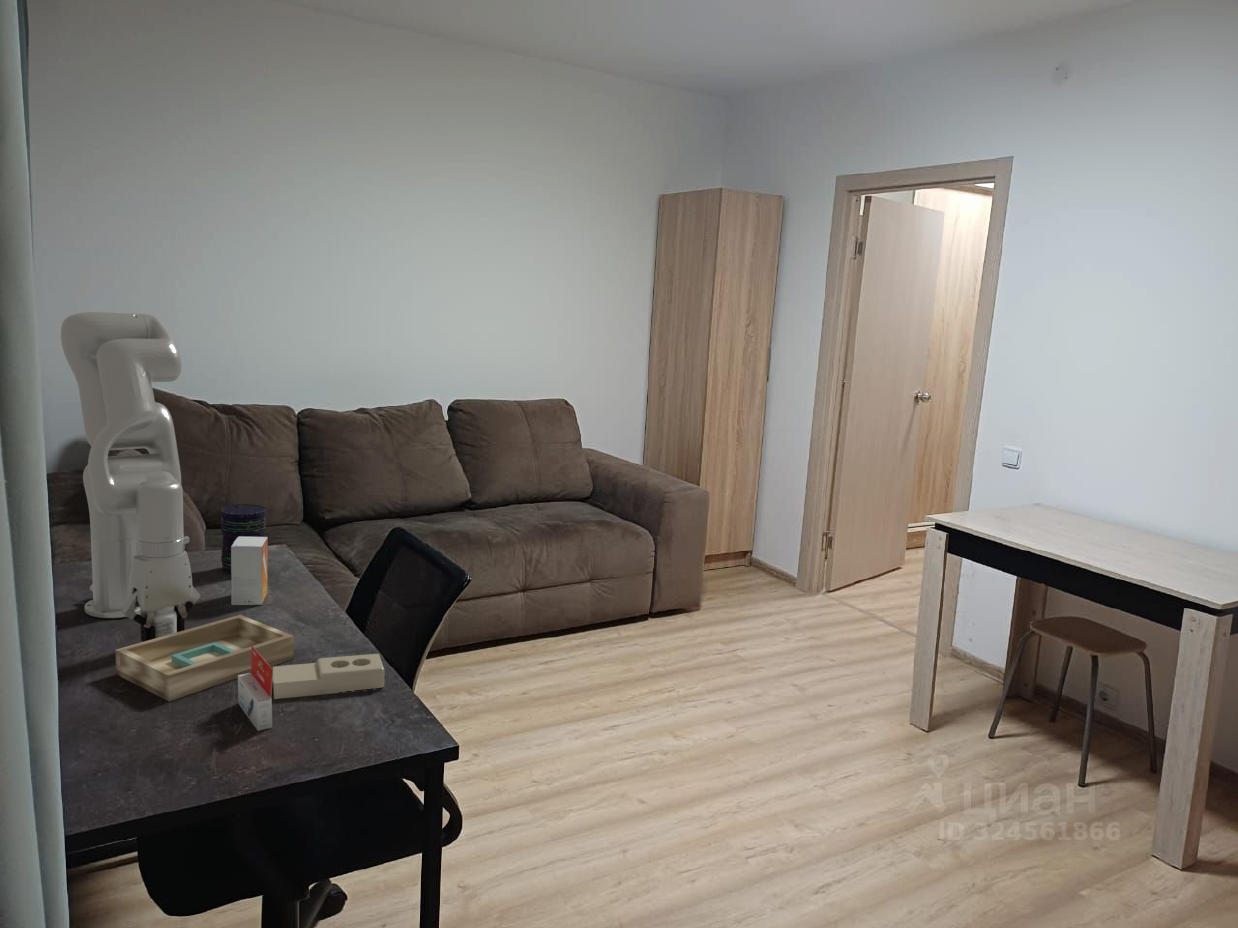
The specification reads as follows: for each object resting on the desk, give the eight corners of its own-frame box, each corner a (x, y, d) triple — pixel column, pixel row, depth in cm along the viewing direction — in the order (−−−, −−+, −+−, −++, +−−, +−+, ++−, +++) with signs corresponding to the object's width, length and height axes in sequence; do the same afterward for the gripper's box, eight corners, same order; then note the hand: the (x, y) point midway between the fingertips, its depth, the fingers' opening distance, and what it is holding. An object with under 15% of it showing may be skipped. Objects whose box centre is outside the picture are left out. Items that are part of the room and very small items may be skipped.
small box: (262, 605, 195) (262, 546, 193) (230, 605, 194) (230, 546, 192) (268, 593, 203) (268, 536, 201) (237, 593, 202) (237, 535, 199)
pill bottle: (155, 640, 173) (154, 597, 172) (181, 641, 174) (180, 598, 172) (144, 650, 169) (143, 606, 167) (171, 651, 169) (170, 607, 168)
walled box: (116, 674, 158) (115, 649, 157) (240, 636, 178) (240, 614, 177) (169, 701, 150) (168, 675, 149) (293, 658, 169) (293, 635, 169)
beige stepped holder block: (272, 661, 159) (379, 652, 166) (272, 683, 160) (378, 673, 167) (274, 677, 152) (384, 668, 159) (274, 700, 153) (384, 690, 160)
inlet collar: (171, 661, 162) (171, 655, 162) (215, 648, 169) (215, 641, 169) (199, 674, 158) (199, 668, 158) (243, 660, 165) (243, 654, 165)
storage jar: (274, 571, 218) (274, 510, 215) (235, 579, 210) (235, 516, 208) (251, 561, 224) (251, 502, 221) (213, 569, 216) (212, 507, 214)
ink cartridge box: (257, 731, 142) (257, 672, 140) (237, 704, 151) (236, 647, 149) (273, 728, 144) (273, 669, 142) (252, 700, 152) (252, 645, 150)
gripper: (192, 534, 177) (193, 624, 180) (103, 552, 163) (106, 648, 166) (215, 542, 173) (216, 634, 176) (126, 561, 159) (129, 660, 162)
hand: (163, 640), depth 171 cm, fingers closed on pill bottle, 4 cm apart
